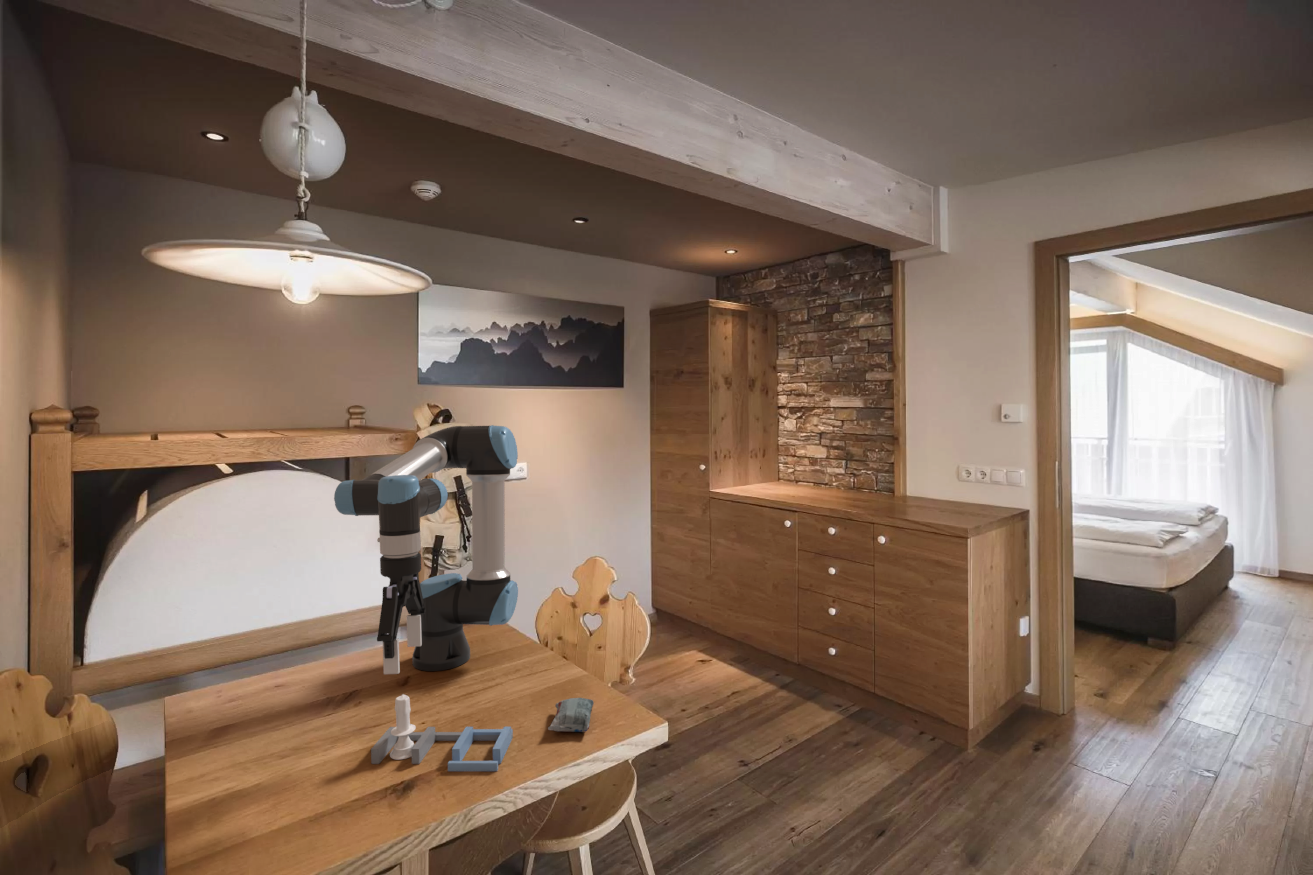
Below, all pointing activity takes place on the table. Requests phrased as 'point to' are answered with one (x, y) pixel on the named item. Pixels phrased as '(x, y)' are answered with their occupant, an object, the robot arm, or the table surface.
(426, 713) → the table surface
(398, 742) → the candle
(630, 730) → the table surface
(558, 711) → the packaged food
